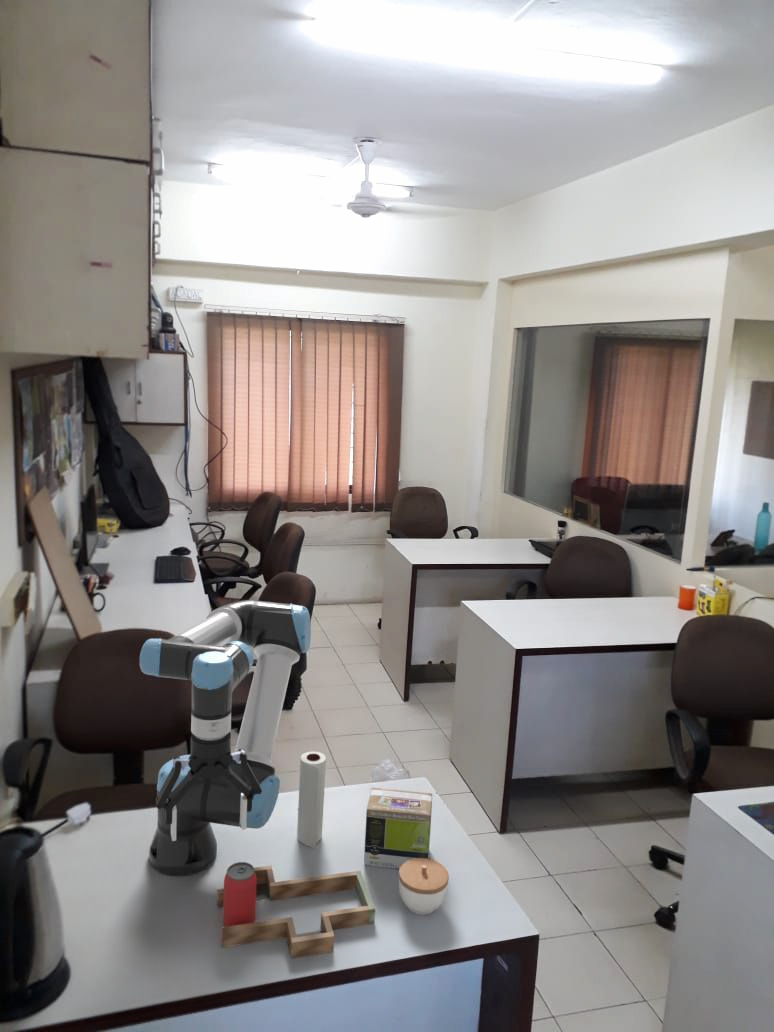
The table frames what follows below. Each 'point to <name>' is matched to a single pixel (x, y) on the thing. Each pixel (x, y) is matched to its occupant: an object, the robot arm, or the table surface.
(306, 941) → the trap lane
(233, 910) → the beer can
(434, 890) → the lidded jar
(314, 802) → the paper towel roll
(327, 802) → the table surface
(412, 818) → the tea box
